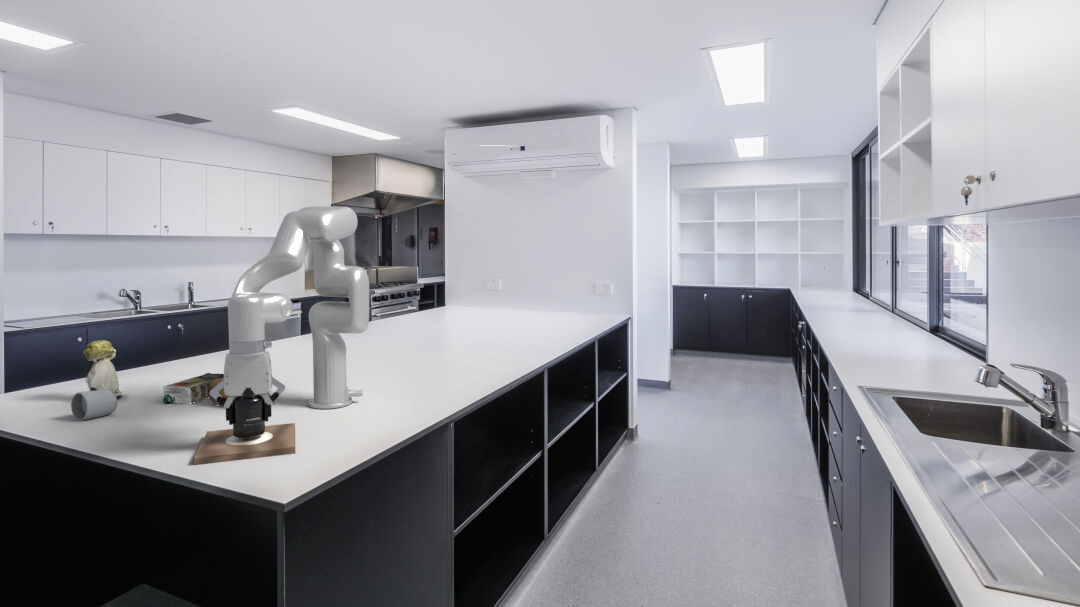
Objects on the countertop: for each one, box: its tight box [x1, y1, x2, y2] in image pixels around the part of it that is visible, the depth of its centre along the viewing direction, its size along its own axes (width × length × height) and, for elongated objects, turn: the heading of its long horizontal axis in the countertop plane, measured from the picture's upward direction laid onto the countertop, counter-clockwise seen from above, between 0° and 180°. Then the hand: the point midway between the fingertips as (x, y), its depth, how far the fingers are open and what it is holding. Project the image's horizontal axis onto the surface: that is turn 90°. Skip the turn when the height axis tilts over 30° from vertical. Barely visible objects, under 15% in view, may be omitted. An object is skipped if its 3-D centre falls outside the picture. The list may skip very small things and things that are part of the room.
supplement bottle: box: [232, 387, 266, 438], centre depth 132 cm, size 7×7×12 cm
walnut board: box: [193, 422, 296, 466], centre depth 133 cm, size 20×20×2 cm
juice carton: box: [162, 372, 224, 404], centre depth 178 cm, size 10×20×6 cm, turn 173°
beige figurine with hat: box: [82, 339, 128, 397], centre depth 172 cm, size 12×13×18 cm
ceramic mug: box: [70, 390, 118, 422], centre depth 154 cm, size 11×8×8 cm
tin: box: [208, 378, 236, 407], centre depth 167 cm, size 15×3×8 cm, turn 68°
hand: (249, 421), depth 133 cm, fingers closed on supplement bottle, 6 cm apart
